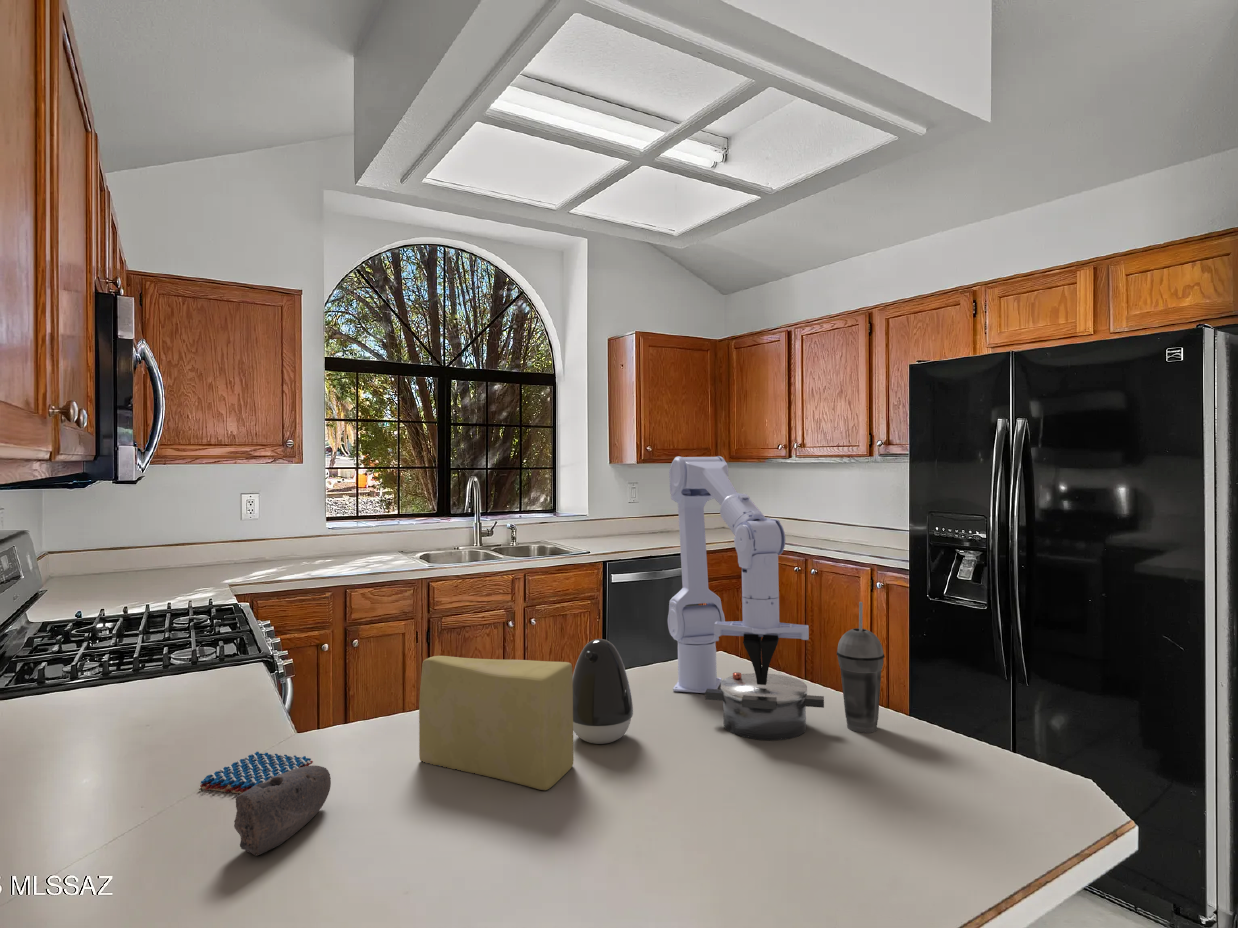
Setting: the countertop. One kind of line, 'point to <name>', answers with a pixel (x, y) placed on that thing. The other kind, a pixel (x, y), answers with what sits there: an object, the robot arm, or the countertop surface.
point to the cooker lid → (763, 690)
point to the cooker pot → (765, 717)
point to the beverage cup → (861, 676)
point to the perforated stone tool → (280, 807)
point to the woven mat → (252, 772)
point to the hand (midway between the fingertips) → (762, 682)
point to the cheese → (498, 718)
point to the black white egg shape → (601, 694)
